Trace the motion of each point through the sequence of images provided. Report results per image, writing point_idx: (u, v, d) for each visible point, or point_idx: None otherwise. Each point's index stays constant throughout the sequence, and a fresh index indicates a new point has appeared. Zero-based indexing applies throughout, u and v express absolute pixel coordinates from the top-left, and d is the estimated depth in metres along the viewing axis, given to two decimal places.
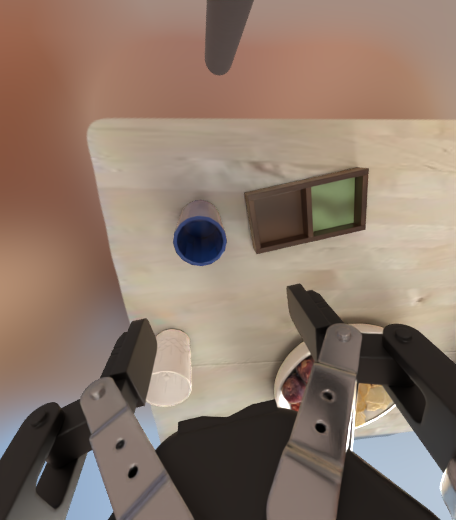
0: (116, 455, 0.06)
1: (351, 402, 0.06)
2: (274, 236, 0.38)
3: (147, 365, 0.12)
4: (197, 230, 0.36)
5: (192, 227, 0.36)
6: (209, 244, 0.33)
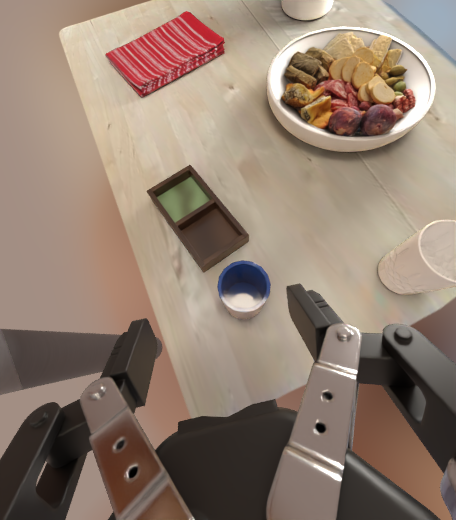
0: (116, 455, 0.06)
1: (351, 402, 0.06)
2: (229, 229, 0.40)
3: (147, 365, 0.12)
4: (253, 298, 0.36)
5: (252, 303, 0.36)
6: (255, 279, 0.33)
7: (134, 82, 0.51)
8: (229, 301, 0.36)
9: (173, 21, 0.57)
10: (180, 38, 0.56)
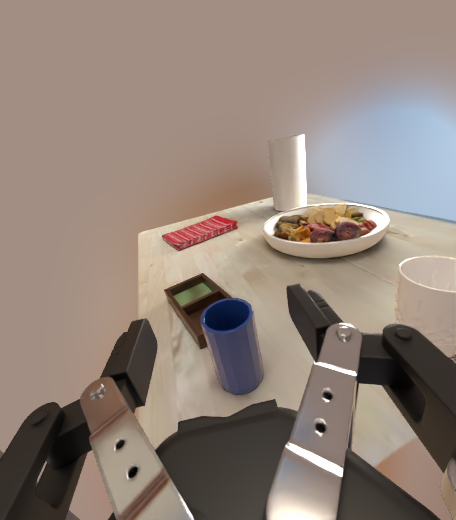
0: (116, 455, 0.06)
1: (351, 402, 0.06)
2: None
3: (147, 365, 0.12)
4: None
5: None
6: None
7: (175, 243, 0.76)
8: None
9: (206, 220, 0.92)
10: (210, 225, 0.88)
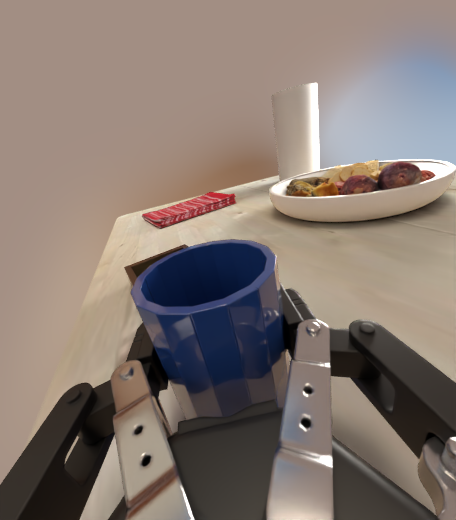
0: (133, 440, 0.06)
1: (330, 392, 0.07)
2: None
3: None
4: None
5: None
6: None
7: (156, 219, 0.59)
8: None
9: (198, 197, 0.76)
10: (202, 202, 0.71)
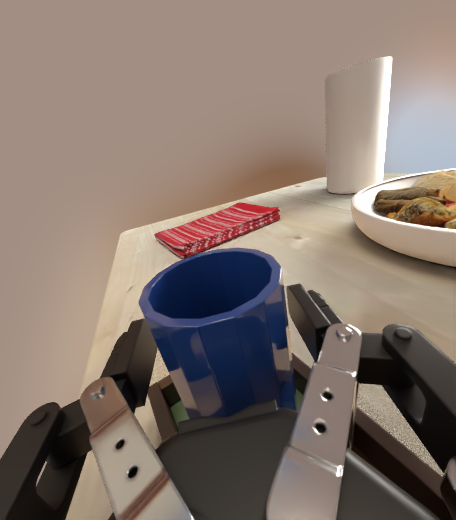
0: (116, 455, 0.06)
1: (351, 402, 0.06)
2: None
3: (147, 365, 0.12)
4: None
5: None
6: None
7: (177, 245, 0.42)
8: None
9: (225, 209, 0.59)
10: (232, 216, 0.55)
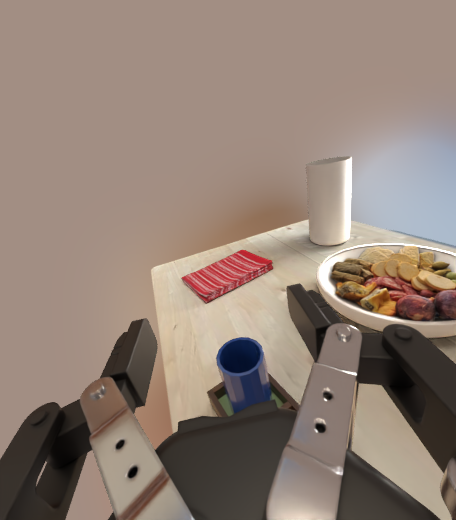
0: (116, 455, 0.06)
1: (351, 402, 0.06)
2: None
3: (147, 365, 0.12)
4: None
5: None
6: None
7: (201, 293, 0.62)
8: None
9: (232, 255, 0.79)
10: (238, 263, 0.74)
